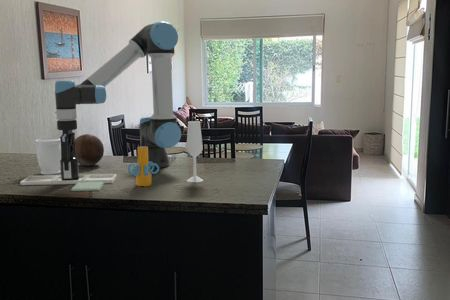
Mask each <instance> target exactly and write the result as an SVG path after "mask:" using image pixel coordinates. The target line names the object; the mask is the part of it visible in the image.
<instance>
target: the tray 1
mask: <svg viewBox="0 0 450 300" xmlns="http://www.w3.org/2000/svg"><path fill="white" fill-rule="evenodd" d="M58 176H59V175H58V174H52V175H43V174H40V175H29V176H27V177H25V178H24V179H22V180H21V181H19V183H20V184H19V185H20V186H44V185H46V186H47V185H48V186H51V185H52V181H53V180H54V179H55V178H56V177H58Z"/></svg>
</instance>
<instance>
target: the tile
mask: <svg viewBox="0 0 450 300" xmlns="http://www.w3.org/2000/svg"><path fill="white" fill-rule="evenodd" d="M104 185H105V183H104V182H90V183H77V184H74V186H72V188H70V189H71V192H82V191H85V192H87V191H88V192H89V191H92V192H93V191H100V189H102V187H103V186H104Z"/></svg>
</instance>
